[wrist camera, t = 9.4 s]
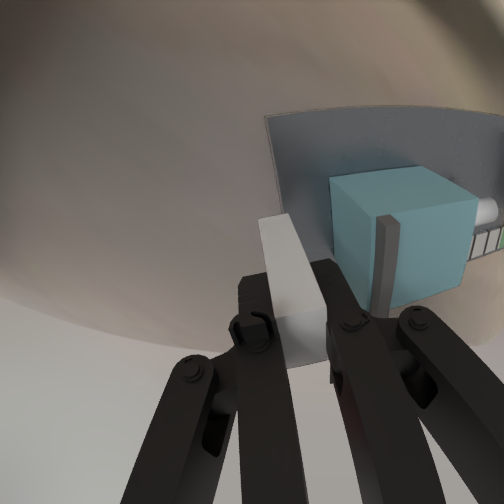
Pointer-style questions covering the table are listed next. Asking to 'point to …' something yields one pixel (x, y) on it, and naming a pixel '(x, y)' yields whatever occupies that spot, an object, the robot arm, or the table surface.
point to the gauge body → (403, 234)
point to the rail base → (383, 160)
